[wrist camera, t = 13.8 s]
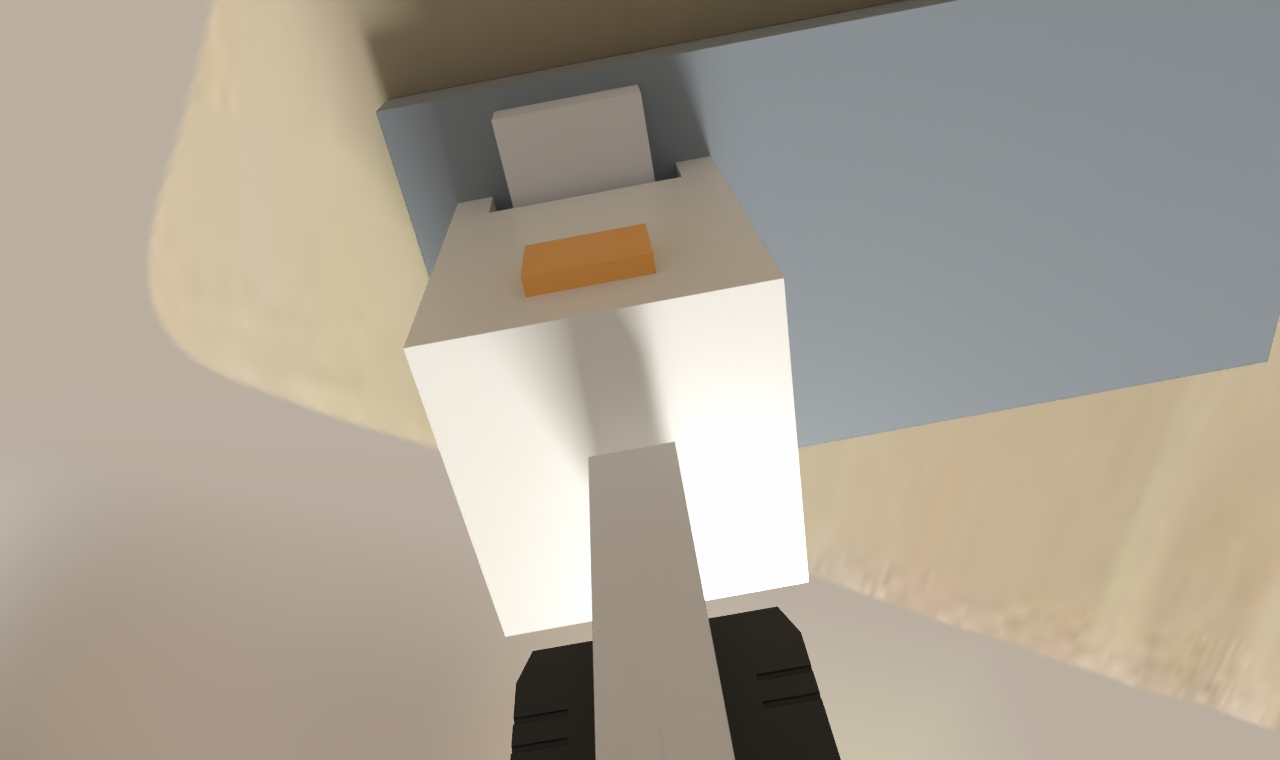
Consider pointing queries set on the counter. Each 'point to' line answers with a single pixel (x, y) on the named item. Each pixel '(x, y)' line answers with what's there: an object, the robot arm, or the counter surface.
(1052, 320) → the panel
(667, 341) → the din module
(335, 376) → the counter surface
